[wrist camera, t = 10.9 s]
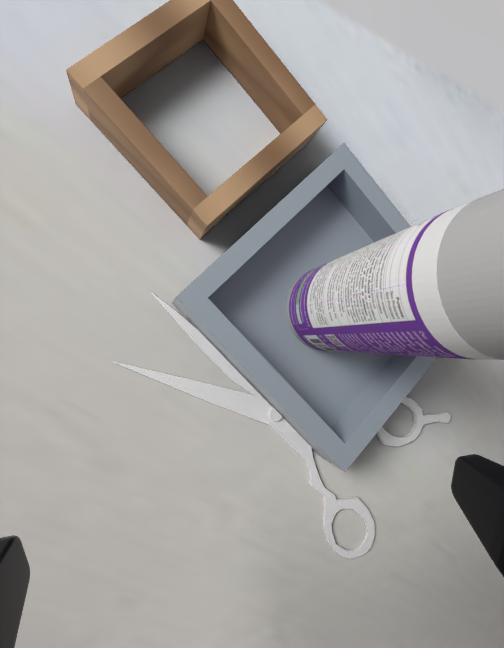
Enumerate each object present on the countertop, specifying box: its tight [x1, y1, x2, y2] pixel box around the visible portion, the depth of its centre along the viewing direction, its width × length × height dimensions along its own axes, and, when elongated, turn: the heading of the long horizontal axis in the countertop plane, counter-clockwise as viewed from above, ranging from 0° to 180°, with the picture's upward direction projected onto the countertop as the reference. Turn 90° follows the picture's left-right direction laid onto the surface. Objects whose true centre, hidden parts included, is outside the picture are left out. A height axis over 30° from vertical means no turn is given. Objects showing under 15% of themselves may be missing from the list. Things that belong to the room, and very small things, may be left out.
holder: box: [66, 0, 327, 239], centre depth 20 cm, size 9×9×2 cm
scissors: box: [112, 292, 451, 558], centre depth 22 cm, size 11×1×20 cm
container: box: [286, 189, 504, 359], centre depth 14 cm, size 5×5×15 cm
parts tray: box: [172, 143, 438, 472], centre depth 21 cm, size 12×12×3 cm
